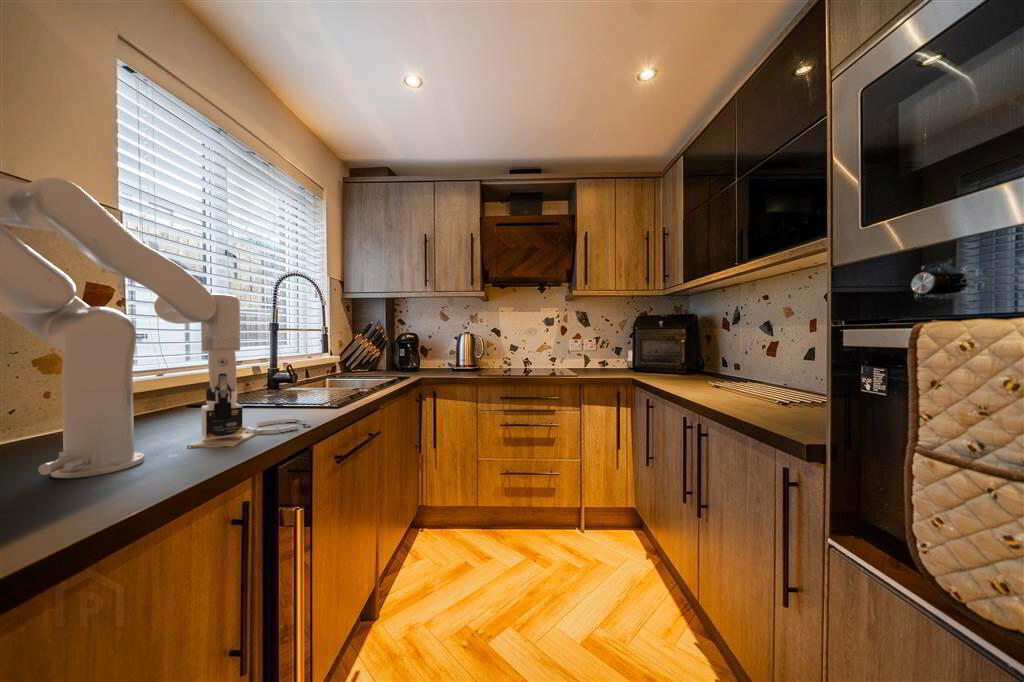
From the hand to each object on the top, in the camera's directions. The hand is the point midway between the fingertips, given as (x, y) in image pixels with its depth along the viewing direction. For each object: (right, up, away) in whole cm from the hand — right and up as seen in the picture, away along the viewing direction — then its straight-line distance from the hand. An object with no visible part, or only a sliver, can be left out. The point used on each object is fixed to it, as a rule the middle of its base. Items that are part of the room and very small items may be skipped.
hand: (221, 416), depth 95 cm
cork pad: (0, -6, 0) cm, 6 cm away
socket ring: (+5, -6, +14) cm, 16 cm away
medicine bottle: (0, -5, 0) cm, 5 cm away
